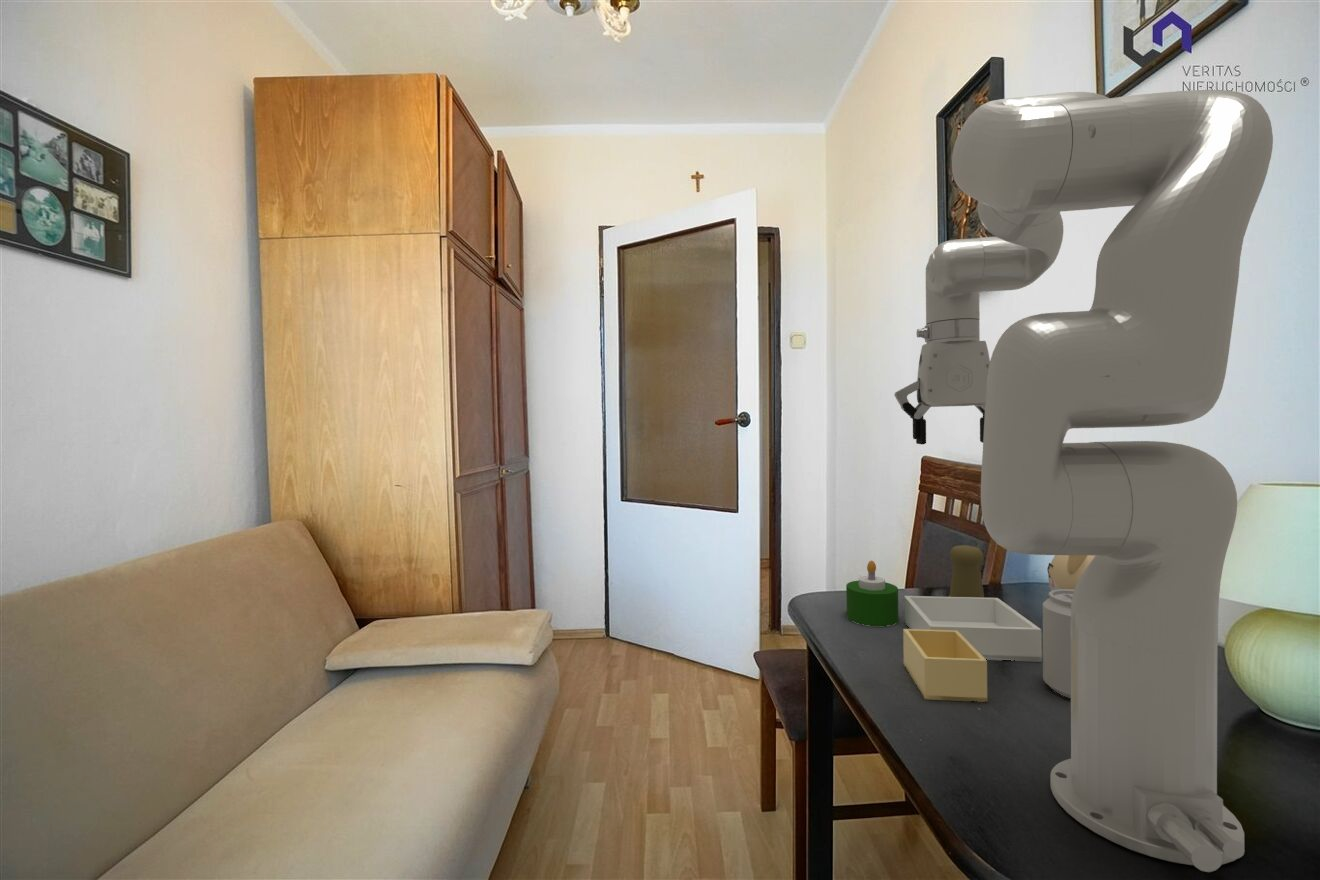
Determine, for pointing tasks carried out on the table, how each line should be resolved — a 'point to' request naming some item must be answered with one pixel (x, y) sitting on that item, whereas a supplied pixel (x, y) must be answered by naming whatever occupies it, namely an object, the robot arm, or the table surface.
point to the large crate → (978, 625)
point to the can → (1057, 641)
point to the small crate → (945, 665)
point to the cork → (966, 572)
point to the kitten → (1067, 570)
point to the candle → (872, 600)
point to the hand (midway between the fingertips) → (953, 443)
